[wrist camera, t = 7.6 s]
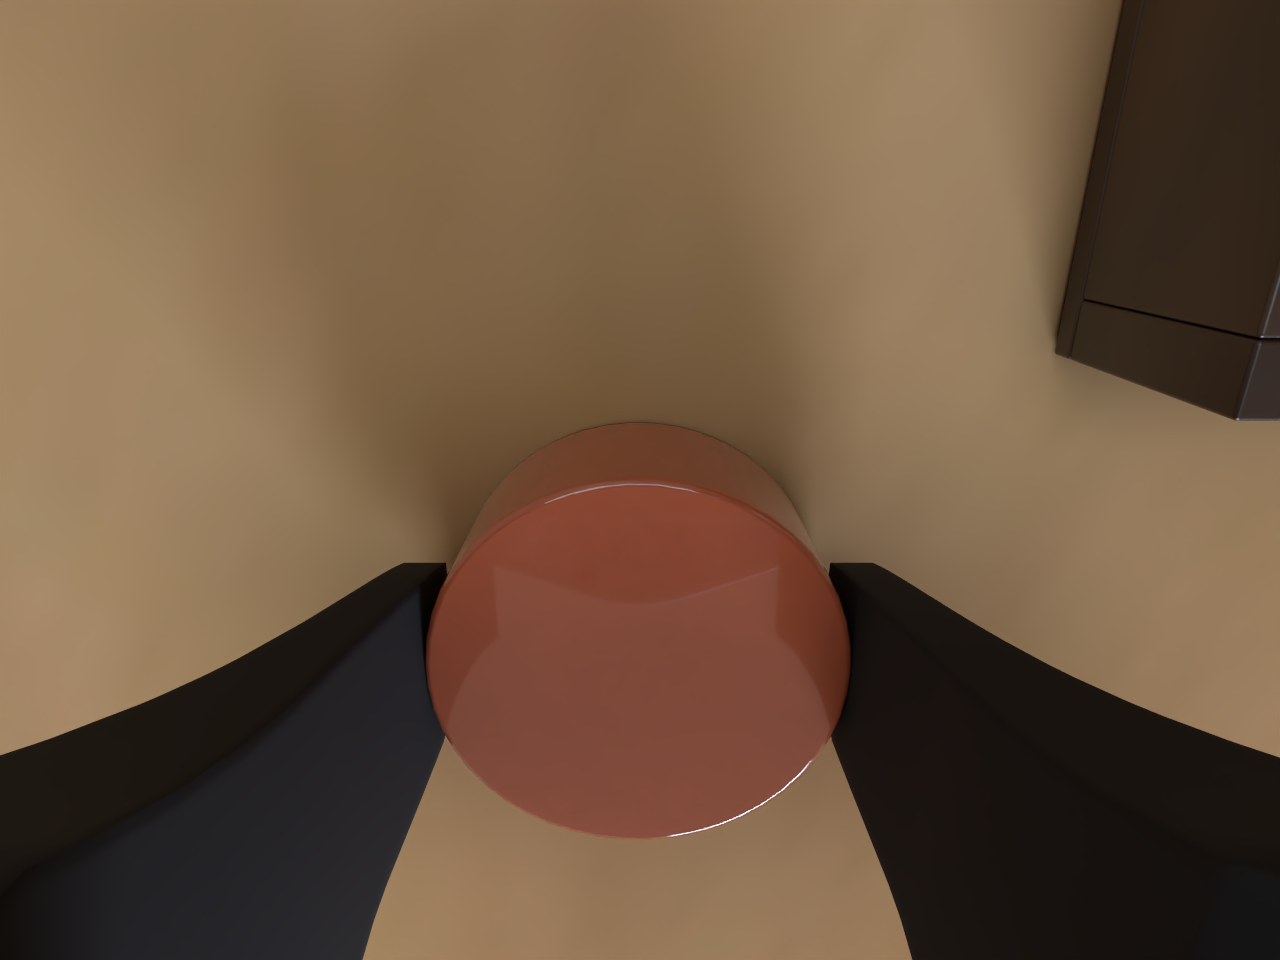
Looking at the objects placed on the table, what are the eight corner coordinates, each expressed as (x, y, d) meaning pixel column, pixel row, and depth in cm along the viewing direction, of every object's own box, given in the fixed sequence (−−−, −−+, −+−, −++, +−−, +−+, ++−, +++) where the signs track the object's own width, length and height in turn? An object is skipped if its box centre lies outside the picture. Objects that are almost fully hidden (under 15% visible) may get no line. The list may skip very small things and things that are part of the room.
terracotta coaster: (880, 606, 12) (936, 700, 10) (619, 780, 13) (614, 901, 11) (662, 343, 10) (669, 382, 8) (391, 568, 12) (332, 656, 9)
